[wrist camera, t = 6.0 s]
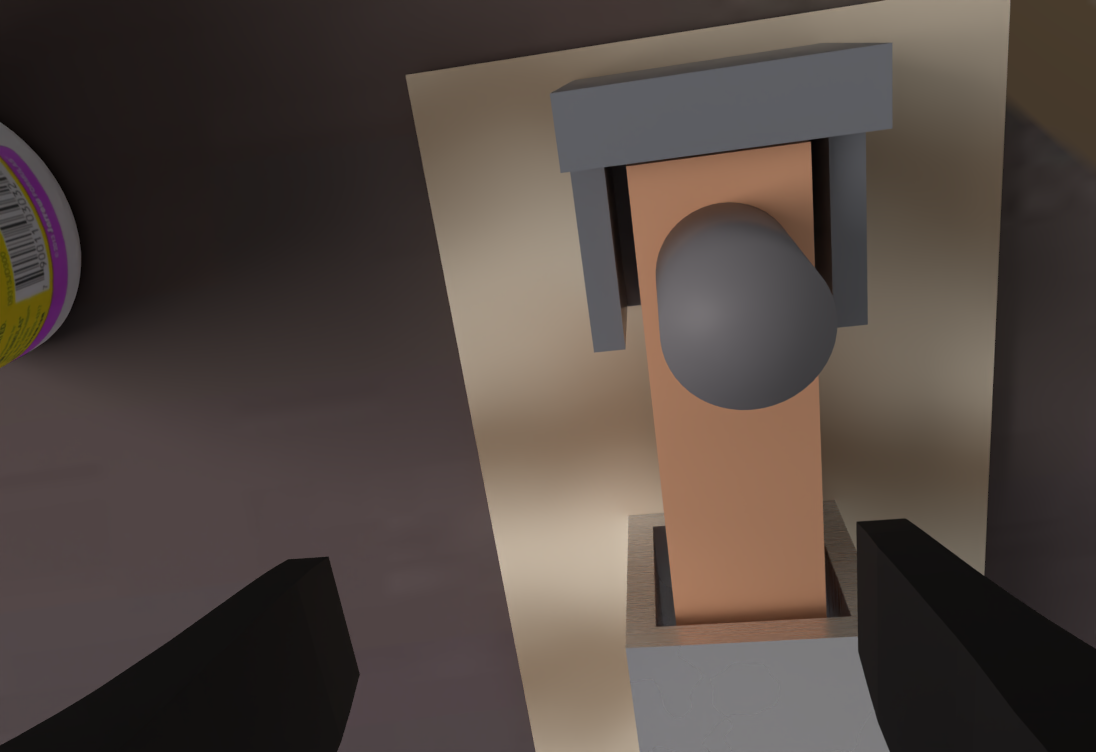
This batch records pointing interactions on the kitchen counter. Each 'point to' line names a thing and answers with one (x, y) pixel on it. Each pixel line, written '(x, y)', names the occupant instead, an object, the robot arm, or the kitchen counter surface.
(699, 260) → the bar
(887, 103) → the socket cradle
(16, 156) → the supplement bottle
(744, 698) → the sleeve
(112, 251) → the kitchen counter surface
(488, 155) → the base board
